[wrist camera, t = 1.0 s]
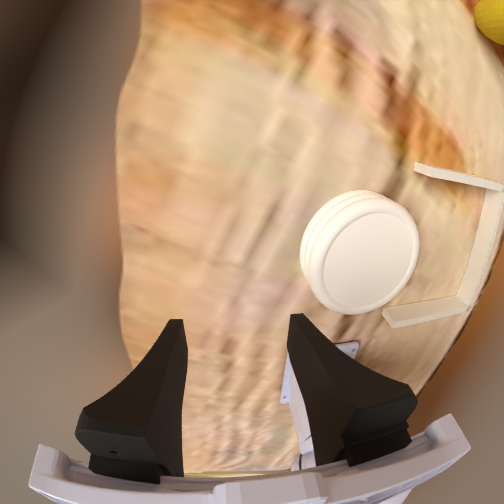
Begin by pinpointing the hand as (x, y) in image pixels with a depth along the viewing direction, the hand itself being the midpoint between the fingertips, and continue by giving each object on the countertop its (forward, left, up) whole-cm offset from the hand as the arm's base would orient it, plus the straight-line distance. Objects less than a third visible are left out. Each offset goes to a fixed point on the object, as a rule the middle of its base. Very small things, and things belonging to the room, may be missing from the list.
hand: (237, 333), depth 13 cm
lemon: (+26, -26, -10) cm, 38 cm away
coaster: (0, -10, -10) cm, 14 cm away
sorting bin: (0, -22, -9) cm, 23 cm away
